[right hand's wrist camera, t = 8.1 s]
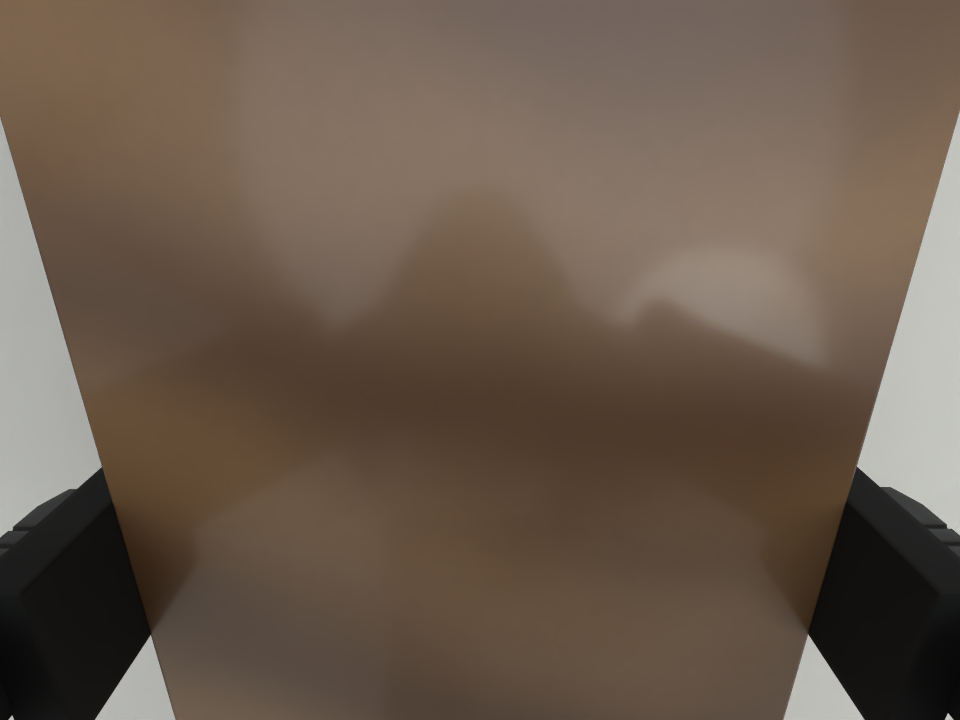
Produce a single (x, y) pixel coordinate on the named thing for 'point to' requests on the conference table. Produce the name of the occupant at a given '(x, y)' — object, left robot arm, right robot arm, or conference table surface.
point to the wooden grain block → (479, 331)
